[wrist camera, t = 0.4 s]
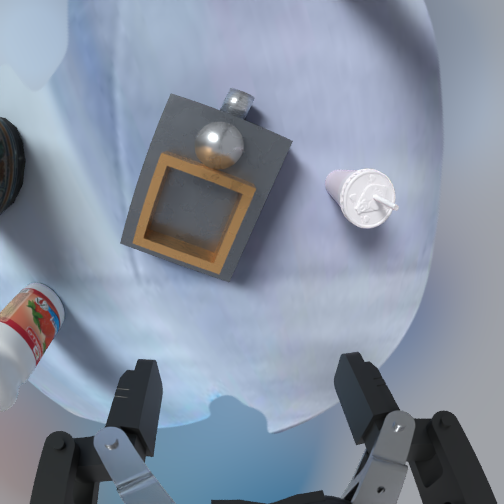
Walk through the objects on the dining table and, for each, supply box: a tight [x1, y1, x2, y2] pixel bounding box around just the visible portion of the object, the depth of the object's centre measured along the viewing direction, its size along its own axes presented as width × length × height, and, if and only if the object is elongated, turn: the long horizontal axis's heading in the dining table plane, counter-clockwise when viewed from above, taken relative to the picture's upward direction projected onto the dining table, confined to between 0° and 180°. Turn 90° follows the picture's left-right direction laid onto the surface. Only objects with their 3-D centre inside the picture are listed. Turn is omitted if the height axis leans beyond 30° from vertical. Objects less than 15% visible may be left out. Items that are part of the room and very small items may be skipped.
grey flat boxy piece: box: [120, 88, 293, 282], centre depth 32 cm, size 21×14×8 cm, turn 157°
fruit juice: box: [0, 283, 65, 412], centre depth 27 cm, size 9×9×28 cm
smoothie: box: [325, 168, 399, 229], centre depth 31 cm, size 6×6×14 cm
